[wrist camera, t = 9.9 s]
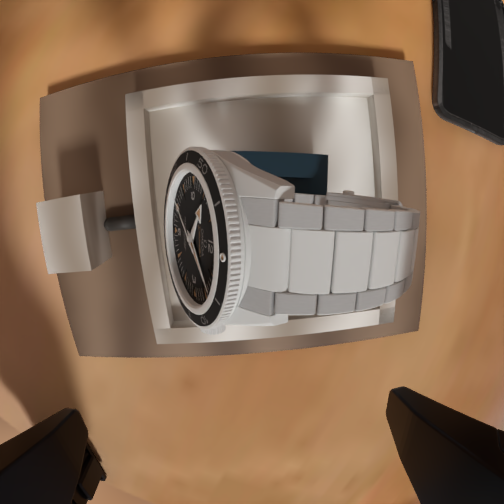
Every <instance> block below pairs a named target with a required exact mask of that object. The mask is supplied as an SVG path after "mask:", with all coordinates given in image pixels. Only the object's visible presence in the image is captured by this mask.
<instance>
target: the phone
mask: <svg viewBox="0 0 504 504" xmlns="http://www.w3.org/2000/svg"><path fill="white" fill-rule="evenodd" d="M432 2H433V17H434V74H433V94H432V104H433V107H434V110H435V112H436V113H437V115H438V116H439V117H440V118H442V119H443V120H445V121H448V122H450V123H452V122H453V123H452V124H455V125H457V126H459V127H461V128H464V129H466V130H468V131H470V132H472V133H475V134H477V135H479V136H481V137H483V138H485V139H487V140H489V141H491V142H493V143H495V144H497V145H504V4H503V2H502V0H432Z"/></svg>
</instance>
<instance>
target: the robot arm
mask: <svg viewBox="0 0 504 504" xmlns="http://www.w3.org/2000/svg"><path fill="white" fill-rule="evenodd" d="M386 417H387V420H388V423H389V426H390V429H391V432H392V435H393V438H394V441H395V445H396V448H397V451H398V454H399V457H400V459H401V462H402V464H403V466H404V468H405V470H406V473H407V475H408V477H409V479H410V481H411V483H412V486H413V488H414V490H415V492H416V494H417V497H418V499H419V501H420V503H421V504H504V431H502V430H500V429H498V430H497V429H496V428H495V427H492V426H490V425H488V424H485V423H483V422H481V421H478V420H476V419H474V418H472V417H469V416H467V415H465V414H463V413H460V412H458V411H456V410H454V409H452V408H449V407H447V406H445V405H443V404H441V403H438V402H436V401H434V400H432V399H430V398H428V397H426V396H423V395H421V394H419V393H417V392H415V391H413V390H411V389H409V388H407V387H404V386H403V387H398V388H394V389H392V390H391V391H390V393H389V397H388V403H387V409H386ZM87 438H88V430H87V427H86V425H85V423H84V421H83V419H82V417H81V414H80V412H79V411H78V410H76V409H71V408H65V409H63V410H61V411H59V412H58V413H56V414H54V415H52V416H51V417H49V418H47V419H45V420H44V421H42V422H40V423H38V424H37V425H35V426H33V427H31V428H30V429H28V430H26V431H24V432H22V433H21V434H19V435H17V436H15V437H14V438H12V439H10V440H8V441H6V442H4V443H3V444H1V445H0V504H86V503H87V501H88V500H92V498H93V496H94V494H95V491H96V489H97V486H98V484H99V481H100V480H101V481H105V480H106V475H105V473H104V472H103V470H102V468H101V466H100V465H99V463H98V461H97V460H96V458H95V456H94V454H93V452H92V451H91V449H90V447H89V445H88V443H87Z"/></svg>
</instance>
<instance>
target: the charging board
mask: <svg viewBox="0 0 504 504" xmlns="http://www.w3.org/2000/svg"><path fill="white" fill-rule="evenodd" d="M188 147H205V148H207V149H209V150H225V151H266V152H291V153H309V154H323V155H328V184H327V192H333V193H343V191H344V190H349V191H353V192H354V195H361V196H369V197H376V198H383V199H389V200H396V201H400V202H401V203H402V205H403V206H404V207H407V208H412V209H416V210H418V211H420V220H419V226H418V227H419V230H418V240H417V248H416V256H415V264H414V271H413V278H412V282H411V285H410V287H409V289H408V290H407V291H406V292H405V293H403V294H402V296H400V297H399V298H397V299H396V300H394V301H392V302H390V303H387V304H385V303H384V304H383V305H381V306H378V307H375V308H371V309H367V310H363V311H355V310H354V311H353V312H348V313H341V314H331V315H317V313H316V312H315V314H314V315H288V322H287V323H284V324H280V325H276V326H240V325H226V330H224V332H222V333H220V334H215V335H210V334H206V333H203V332H201V330H200V328H199V327H197V326H196V325H195V324H194V323H193V322H192V321H191V320H190V319H189V317H188V316H187V314H186V313H185V311H184V310H183V308H182V306H181V304H180V302H179V299H178V297H177V295H176V292H175V289H174V286H173V283H172V279H171V276H170V272H169V267H168V262H167V256H166V249H165V238H164V205H165V196H166V189H167V184H168V180H169V177H170V173H171V170H172V168H173V165H174V163H175V161H176V159H177V157H178V156H179V155H180V153H181V152H182V151H183V150H185V149H186V148H188ZM40 148H41V165H42V178H43V189H44V198H45V201H43V202H38V203H36V205H37V213H38V220H39V227H40V233H41V239H42V245H43V250H44V256H45V261H46V266H47V270H48V274H54V273H57V276H58V281H59V285H60V289H61V293H62V297H63V301H64V305H65V309H66V313H67V316H68V320H69V324H70V327H71V330H72V334H73V337H74V340H75V344H76V347H77V350H78V353H79V356H93V357H195V356H217V355H234V354H248V353H261V352H273V351H283V350H293V349H302V348H311V347H319V346H327V345H334V344H342V343H349V342H355V341H362V340H368V339H374V338H380V337H386V336H392V335H397V334H403V333H408V332H413V331H418V329H419V321H420V313H421V304H422V294H423V283H424V270H425V253H426V215H427V207H426V170H425V153H424V140H423V129H422V119H421V111H420V103H419V95H418V89H417V82H416V76H415V70H414V65H413V61H407V60H400V59H392V58H384V57H374V56H364V55H351V54H333V53H265V54H247V55H234V56H223V57H214V58H205V59H197V60H190V61H183V62H177V63H171V64H165V65H159V66H154V67H149V68H144V69H139V70H135V71H130V72H126V73H122V74H117V75H113V76H109V77H106V78H102V79H98V80H94V81H91V82H87V83H84V84H81V85H77V86H74V87H71V88H68V89H65V90H62V91H59V92H56V93H53V94H50V95H47V96H44V97H42V98H40ZM316 305H317V301H316Z"/></svg>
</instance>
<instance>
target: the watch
mask: <svg viewBox="0 0 504 504" xmlns="http://www.w3.org/2000/svg"><path fill="white" fill-rule="evenodd" d="M327 184H328V155H323V154H309V153H291V152H266V151H225V150H209V149H207V148H205V147H188V148H186V149H185V150H183V151H182V152H181V153H180V155H179V156H178V157H177V159H176V161H175V163H174V165H173V168H172V170H171V173H170V177H169V180H168V184H167V189H166V196H165V205H164V238H165V249H166V256H167V262H168V267H169V272H170V276H171V279H172V283H173V286H174V289H175V292H176V295H177V297H178V299H179V302H180V304H181V306H182V308H183V310H184V311H185V313H186V314H187V316H188V317H189V319H190V320H191V321H192V322H193V323H194V324H195V325H196V326H197V327H199V328H200V330H201V332H203V333H206V334H210V335H215V334H220V333H222V332H224V330H226V325H240V326H276V325H280V324H284V323H287V322H288V315H314V314H315V312H316V313H317V315H331V314H341V313H348V312H353V311H354V310H355V311H363V310H367V309H371V308H375V307H378V306H381V305H383V304H384V303H385V304H387V303H390V302H392V301H394V300H396V299H397V298H399V297H400V296H402V294H403V293H405V292H406V291H407V290H408V289H409V287H410V285H411V282H412V278H413V271H414V264H415V256H416V248H417V240H418V230H419V227H418V226H419V220H420V211H418V210H416V209H412V208H407V207H404V206H403V205H402V203H401V202H400V201H396V200H389V199H383V198H376V197H369V196H361V195H354V192H353V191H349V190H344V191H343V193H333V192H327ZM316 301H317V305H316Z"/></svg>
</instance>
